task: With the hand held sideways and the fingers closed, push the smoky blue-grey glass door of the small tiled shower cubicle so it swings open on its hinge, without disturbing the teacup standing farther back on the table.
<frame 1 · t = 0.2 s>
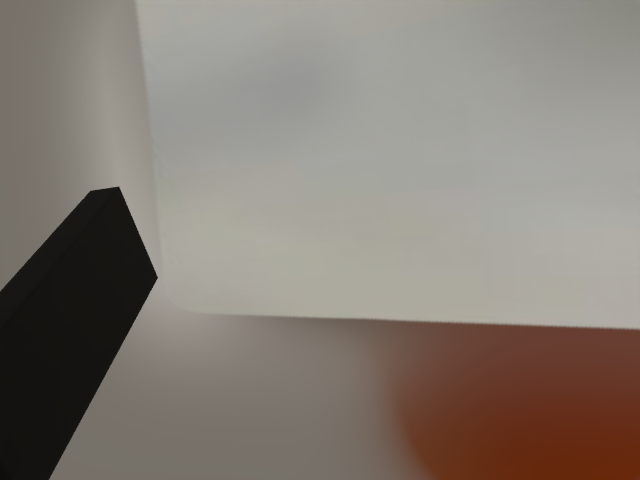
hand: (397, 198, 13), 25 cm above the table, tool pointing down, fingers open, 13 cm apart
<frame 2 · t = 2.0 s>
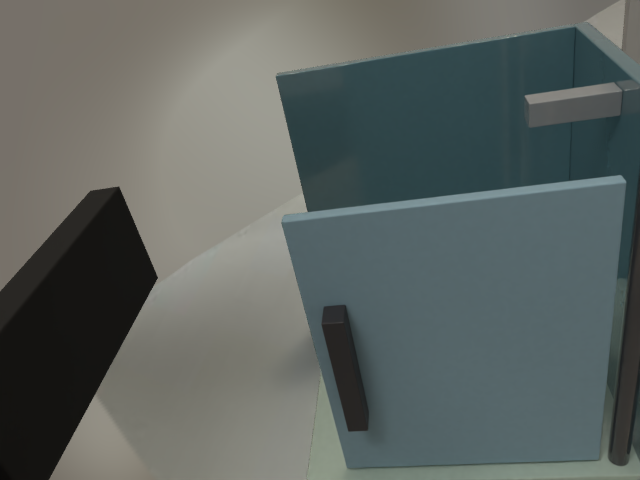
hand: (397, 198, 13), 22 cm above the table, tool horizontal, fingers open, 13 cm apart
shower: (459, 378, 37), on the table
shower door: (458, 359, 26), point 9 cm above the table, hinge at 0.0°
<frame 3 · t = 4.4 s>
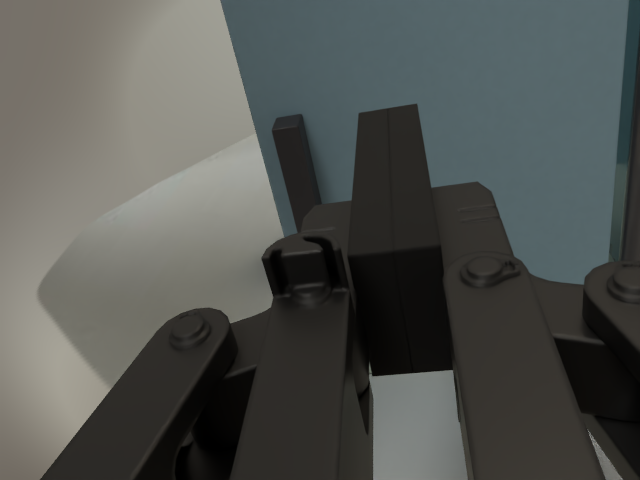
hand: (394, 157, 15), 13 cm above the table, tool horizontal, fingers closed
shower: (444, 265, 33), on the table
shower door: (438, 183, 22), point 9 cm above the table, hinge at 0.0°
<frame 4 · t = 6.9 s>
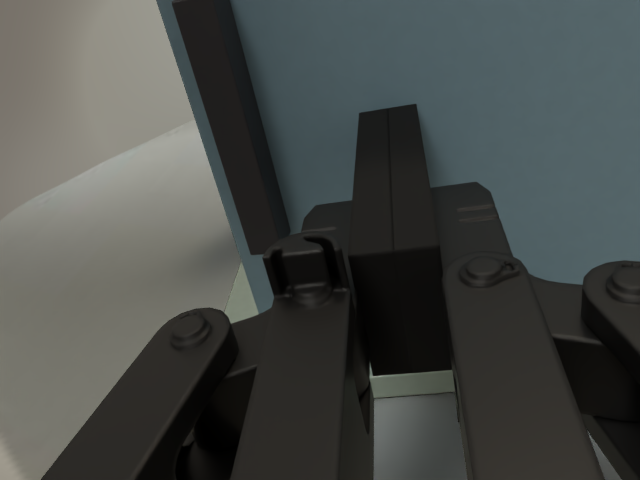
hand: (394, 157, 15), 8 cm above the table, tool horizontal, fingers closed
shower: (446, 251, 25), on the table
shower door: (436, 101, 14), point 9 cm above the table, hinge at 4.2°, touching gripper
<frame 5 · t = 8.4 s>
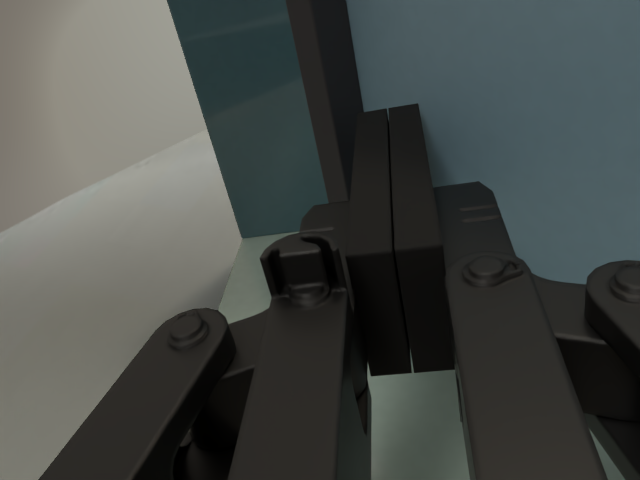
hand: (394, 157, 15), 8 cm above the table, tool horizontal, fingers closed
shower: (457, 345, 20), on the table
shower door: (500, 116, 13), point 9 cm above the table, hinge at 43.5°, touching gripper
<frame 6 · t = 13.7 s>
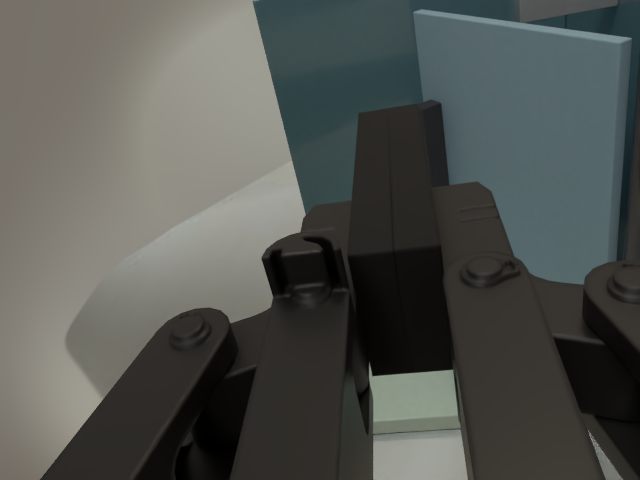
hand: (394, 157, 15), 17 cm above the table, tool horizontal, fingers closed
shower: (453, 321, 35), on the table
shower door: (496, 191, 29), point 9 cm above the table, hinge at 60.9°
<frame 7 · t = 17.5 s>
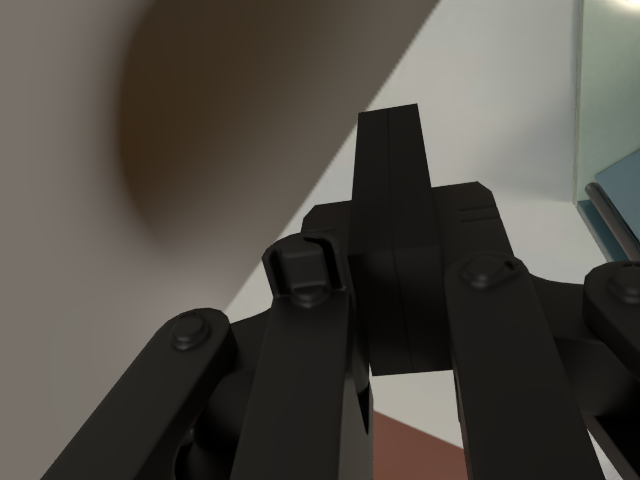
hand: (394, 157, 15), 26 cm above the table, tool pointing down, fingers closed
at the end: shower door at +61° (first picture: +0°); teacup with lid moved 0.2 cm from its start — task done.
